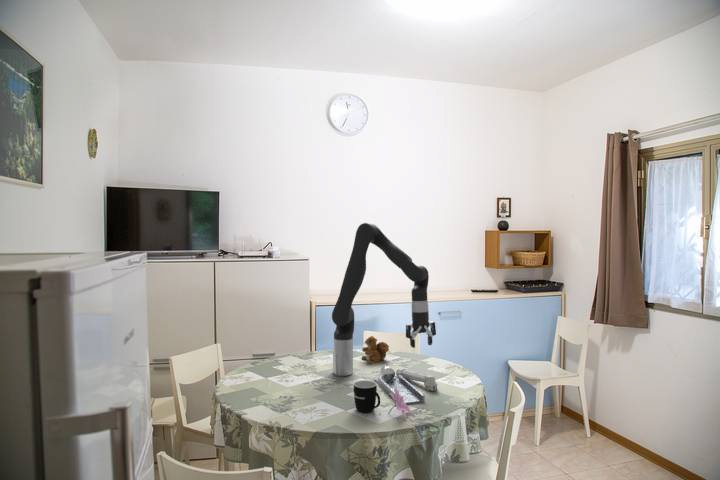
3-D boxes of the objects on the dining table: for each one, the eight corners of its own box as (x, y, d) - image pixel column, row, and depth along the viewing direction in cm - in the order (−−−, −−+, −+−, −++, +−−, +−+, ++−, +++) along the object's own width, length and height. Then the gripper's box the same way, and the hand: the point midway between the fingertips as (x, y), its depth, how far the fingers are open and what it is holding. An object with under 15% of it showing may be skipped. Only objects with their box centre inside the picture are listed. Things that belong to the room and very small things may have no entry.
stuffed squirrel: (360, 359, 245) (360, 335, 245) (384, 356, 249) (384, 333, 249) (365, 364, 236) (365, 339, 235) (390, 361, 240) (390, 337, 239)
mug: (348, 410, 174) (348, 384, 174) (364, 403, 181) (364, 378, 181) (371, 419, 166) (371, 391, 166) (387, 411, 173) (387, 385, 172)
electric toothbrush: (403, 367, 217) (439, 373, 196) (404, 381, 216) (440, 389, 196) (394, 369, 214) (430, 375, 194) (395, 383, 214) (431, 391, 193)
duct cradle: (424, 402, 182) (424, 386, 182) (399, 405, 179) (399, 389, 179) (396, 377, 213) (396, 364, 213) (374, 380, 210) (374, 366, 210)
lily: (392, 426, 162) (405, 404, 161) (372, 405, 170) (384, 384, 169) (410, 426, 170) (423, 405, 170) (390, 406, 178) (402, 386, 178)
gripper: (429, 307, 209) (430, 342, 209) (402, 310, 204) (403, 346, 204) (438, 309, 202) (439, 346, 202) (410, 312, 197) (411, 350, 197)
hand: (421, 346), depth 203 cm, fingers open, 8 cm apart
